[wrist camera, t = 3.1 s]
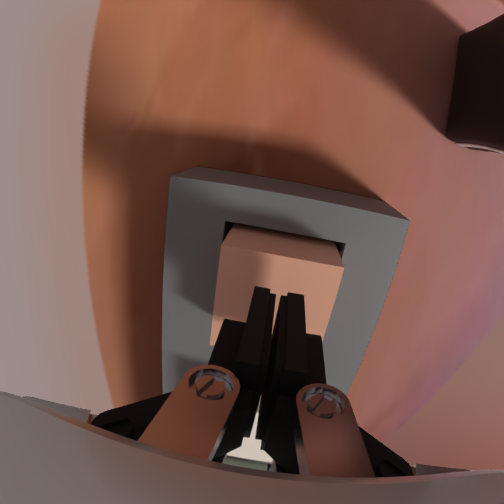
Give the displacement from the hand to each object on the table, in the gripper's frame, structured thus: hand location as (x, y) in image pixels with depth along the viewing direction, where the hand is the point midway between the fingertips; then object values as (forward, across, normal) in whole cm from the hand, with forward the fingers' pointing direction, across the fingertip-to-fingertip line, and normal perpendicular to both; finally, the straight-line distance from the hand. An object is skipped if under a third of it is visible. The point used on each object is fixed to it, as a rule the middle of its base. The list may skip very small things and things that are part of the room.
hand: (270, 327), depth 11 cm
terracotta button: (+4, 0, 0) cm, 4 cm away
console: (+7, 0, +8) cm, 11 cm away
